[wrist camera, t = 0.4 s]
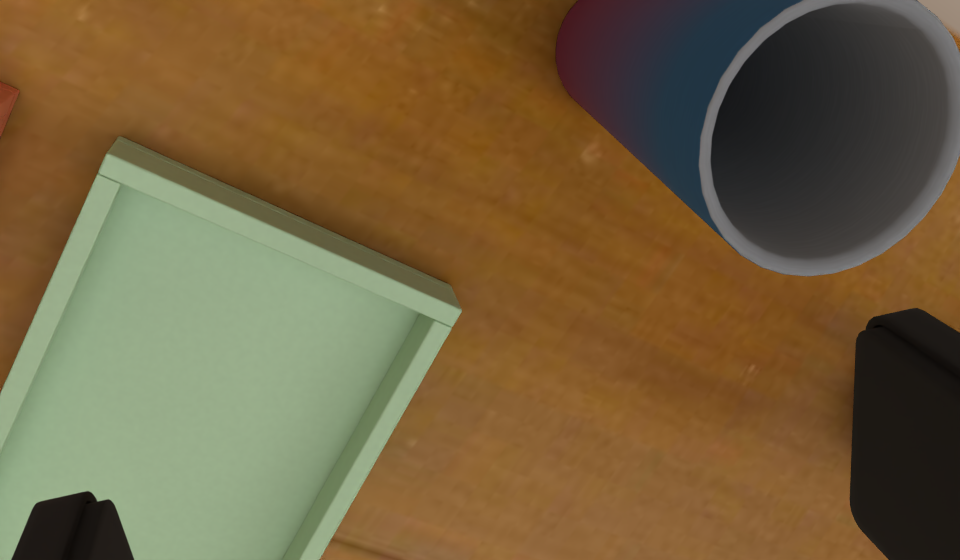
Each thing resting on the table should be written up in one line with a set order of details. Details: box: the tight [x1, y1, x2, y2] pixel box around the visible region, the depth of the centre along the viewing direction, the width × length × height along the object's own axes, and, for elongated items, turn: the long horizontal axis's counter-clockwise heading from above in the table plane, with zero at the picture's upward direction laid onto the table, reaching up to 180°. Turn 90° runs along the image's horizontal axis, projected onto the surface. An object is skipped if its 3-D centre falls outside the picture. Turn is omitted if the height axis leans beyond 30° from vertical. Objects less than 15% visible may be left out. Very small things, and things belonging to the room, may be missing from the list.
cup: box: [556, 0, 960, 276], centre depth 28 cm, size 7×7×15 cm
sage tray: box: [0, 136, 462, 560], centre depth 37 cm, size 28×14×3 cm, turn 151°
